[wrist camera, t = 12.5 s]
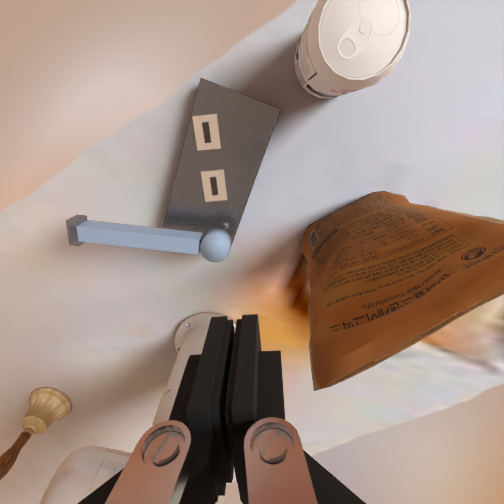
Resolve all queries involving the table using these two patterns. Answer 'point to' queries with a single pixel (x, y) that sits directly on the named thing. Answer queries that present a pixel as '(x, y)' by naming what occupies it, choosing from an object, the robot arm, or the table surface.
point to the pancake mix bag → (393, 279)
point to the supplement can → (351, 45)
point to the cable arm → (149, 238)
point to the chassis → (219, 160)
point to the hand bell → (36, 421)
